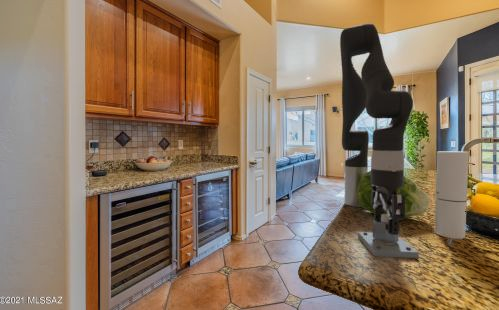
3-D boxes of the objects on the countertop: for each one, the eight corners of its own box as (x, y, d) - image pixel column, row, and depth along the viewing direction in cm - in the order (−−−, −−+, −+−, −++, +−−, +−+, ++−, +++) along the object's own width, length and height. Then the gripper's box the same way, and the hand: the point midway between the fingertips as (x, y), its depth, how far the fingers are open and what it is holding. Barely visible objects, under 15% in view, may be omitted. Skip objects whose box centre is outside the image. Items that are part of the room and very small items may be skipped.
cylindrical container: (456, 231, 75) (459, 151, 73) (471, 240, 68) (474, 152, 67) (430, 228, 77) (432, 151, 75) (441, 237, 70) (444, 152, 69)
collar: (370, 234, 67) (370, 216, 67) (391, 235, 67) (391, 217, 66) (378, 242, 62) (378, 223, 61) (401, 243, 61) (402, 224, 61)
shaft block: (358, 237, 71) (358, 208, 70) (394, 238, 69) (394, 209, 69) (374, 256, 59) (375, 222, 58) (418, 258, 58) (419, 223, 57)
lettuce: (426, 231, 76) (438, 178, 76) (349, 208, 89) (359, 163, 89) (422, 226, 90) (432, 181, 90) (356, 207, 103) (365, 168, 103)
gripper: (362, 165, 70) (361, 219, 71) (383, 170, 56) (382, 238, 57) (389, 165, 70) (388, 219, 70) (418, 170, 55) (415, 239, 56)
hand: (385, 227), depth 64 cm, fingers open, 8 cm apart
